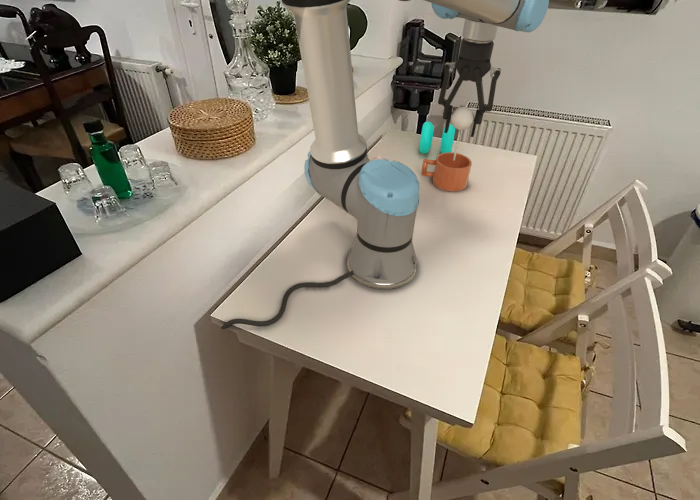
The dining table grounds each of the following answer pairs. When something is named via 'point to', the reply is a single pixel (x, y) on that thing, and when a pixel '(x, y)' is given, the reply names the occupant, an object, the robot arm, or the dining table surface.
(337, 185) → the robot arm
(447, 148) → the donuts
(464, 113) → the lollipop
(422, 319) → the dining table surface
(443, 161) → the mug
